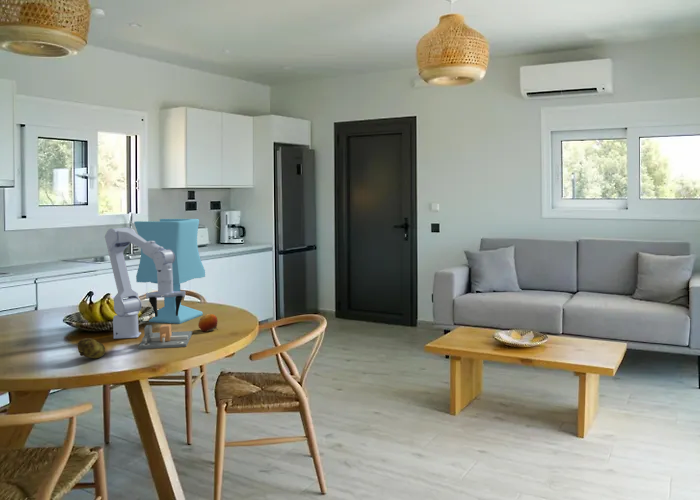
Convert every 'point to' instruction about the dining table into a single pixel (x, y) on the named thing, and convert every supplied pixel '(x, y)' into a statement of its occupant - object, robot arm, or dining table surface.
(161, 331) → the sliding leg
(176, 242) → the lamp with square shade
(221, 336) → the dining table surface
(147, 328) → the fixed leg
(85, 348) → the potato
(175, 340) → the board
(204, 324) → the fruit
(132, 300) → the robot arm
